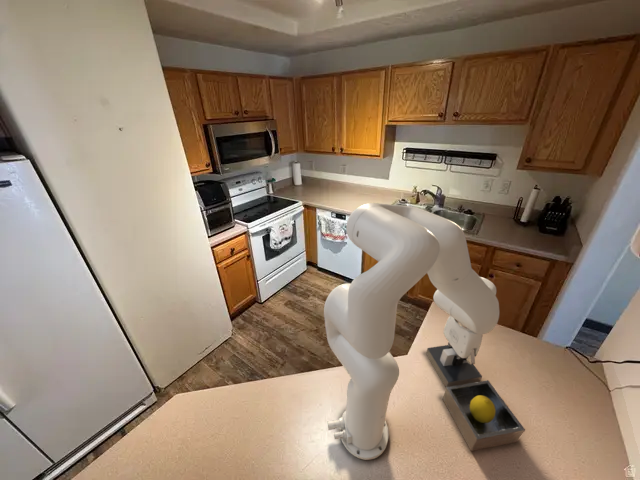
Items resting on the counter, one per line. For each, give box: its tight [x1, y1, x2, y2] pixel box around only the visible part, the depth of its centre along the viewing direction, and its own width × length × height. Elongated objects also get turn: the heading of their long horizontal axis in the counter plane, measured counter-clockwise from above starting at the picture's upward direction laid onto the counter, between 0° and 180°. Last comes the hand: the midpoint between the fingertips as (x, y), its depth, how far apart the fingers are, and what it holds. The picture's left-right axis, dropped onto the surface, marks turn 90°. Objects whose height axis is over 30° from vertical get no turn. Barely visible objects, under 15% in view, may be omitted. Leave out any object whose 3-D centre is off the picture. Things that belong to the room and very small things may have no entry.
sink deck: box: [425, 344, 483, 389], centre depth 82 cm, size 11×12×3 cm
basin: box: [442, 379, 526, 452], centre depth 68 cm, size 13×13×6 cm
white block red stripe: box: [440, 348, 467, 366], centre depth 80 cm, size 8×2×5 cm, turn 98°
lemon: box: [470, 395, 495, 423], centre depth 67 cm, size 6×6×8 cm
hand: (454, 359), depth 81 cm, fingers closed on white block red stripe, 2 cm apart
